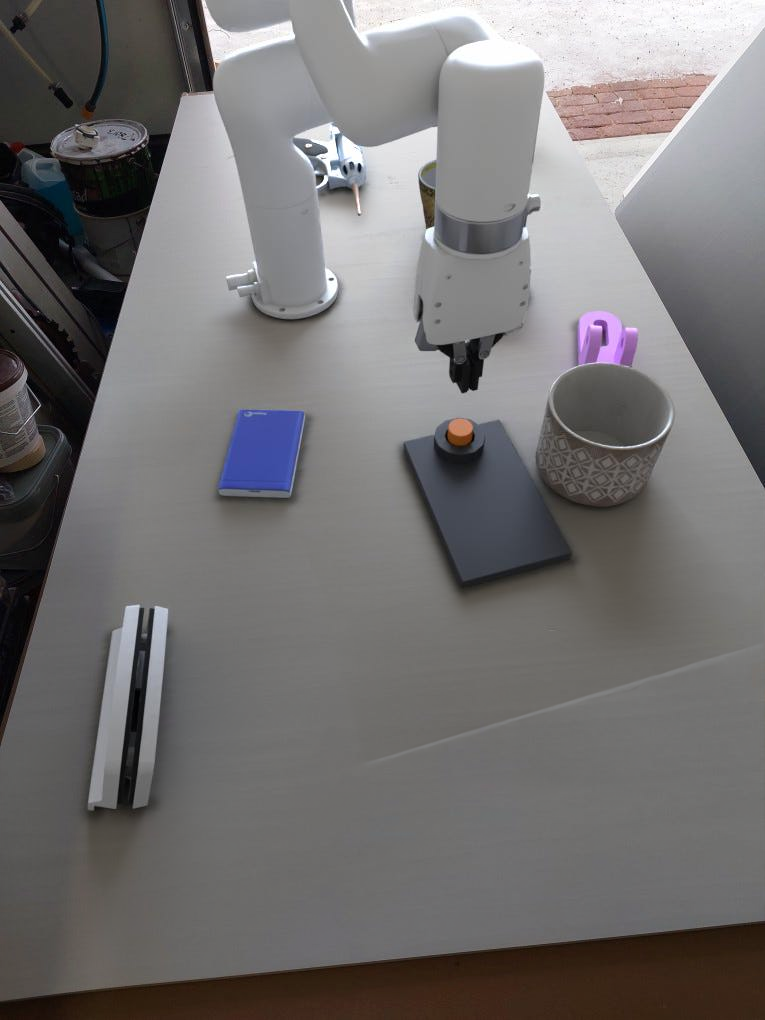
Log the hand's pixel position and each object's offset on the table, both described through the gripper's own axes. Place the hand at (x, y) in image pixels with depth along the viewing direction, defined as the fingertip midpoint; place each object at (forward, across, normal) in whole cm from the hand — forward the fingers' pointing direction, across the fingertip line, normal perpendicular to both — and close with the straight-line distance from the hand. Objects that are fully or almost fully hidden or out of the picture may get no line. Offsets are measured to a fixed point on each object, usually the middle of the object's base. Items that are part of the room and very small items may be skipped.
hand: (464, 382), depth 72 cm
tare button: (+8, 0, 0) cm, 8 cm away
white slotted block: (+11, +38, +21) cm, 45 cm away
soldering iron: (+11, +1, -66) cm, 67 cm away
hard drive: (+11, +22, -6) cm, 26 cm away
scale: (+11, 0, +8) cm, 13 cm away
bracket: (+11, -24, -12) cm, 29 cm away
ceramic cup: (+11, -15, -44) cm, 48 cm away
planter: (+11, -14, +7) cm, 19 cm away
